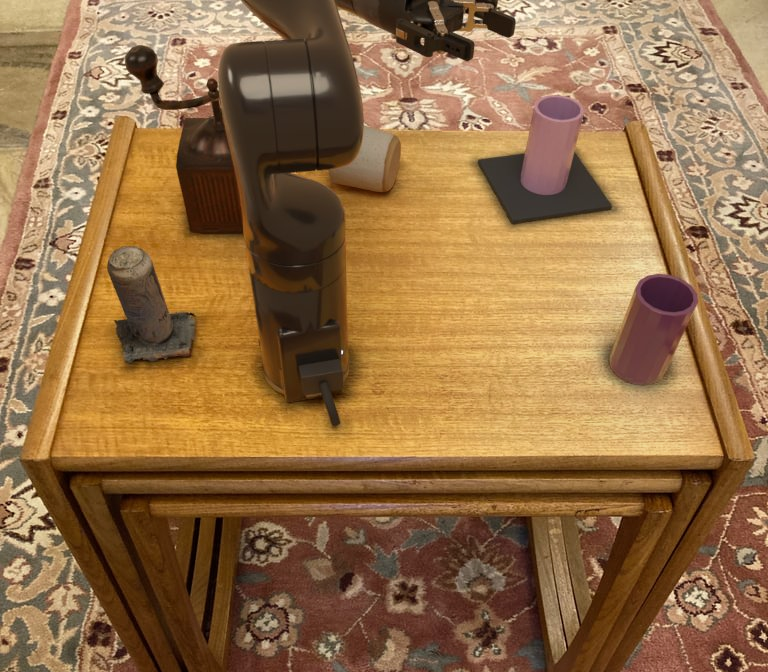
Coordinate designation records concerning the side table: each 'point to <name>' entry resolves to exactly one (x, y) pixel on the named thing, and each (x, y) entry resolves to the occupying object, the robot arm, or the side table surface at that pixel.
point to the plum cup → (652, 328)
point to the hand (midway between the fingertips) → (493, 40)
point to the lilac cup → (551, 144)
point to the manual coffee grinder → (197, 153)
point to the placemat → (531, 206)
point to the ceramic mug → (372, 163)
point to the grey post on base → (146, 310)
